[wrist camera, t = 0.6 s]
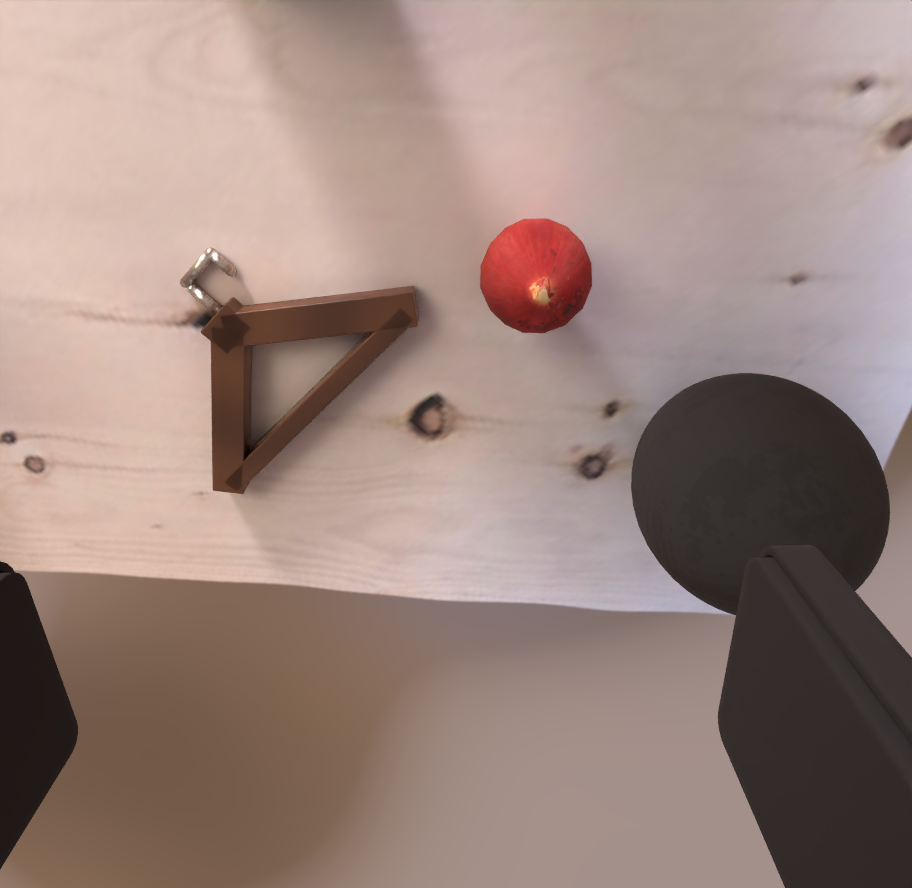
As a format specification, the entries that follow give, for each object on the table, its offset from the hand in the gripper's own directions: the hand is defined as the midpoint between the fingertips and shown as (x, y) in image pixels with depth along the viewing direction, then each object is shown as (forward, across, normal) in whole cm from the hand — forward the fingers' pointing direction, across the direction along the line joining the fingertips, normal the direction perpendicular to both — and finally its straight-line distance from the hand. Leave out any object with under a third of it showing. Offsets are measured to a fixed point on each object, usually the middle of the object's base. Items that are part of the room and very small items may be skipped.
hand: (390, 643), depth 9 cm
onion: (+33, -5, +1) cm, 33 cm away
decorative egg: (+33, -16, +12) cm, 39 cm away
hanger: (+33, +11, +5) cm, 35 cm away
